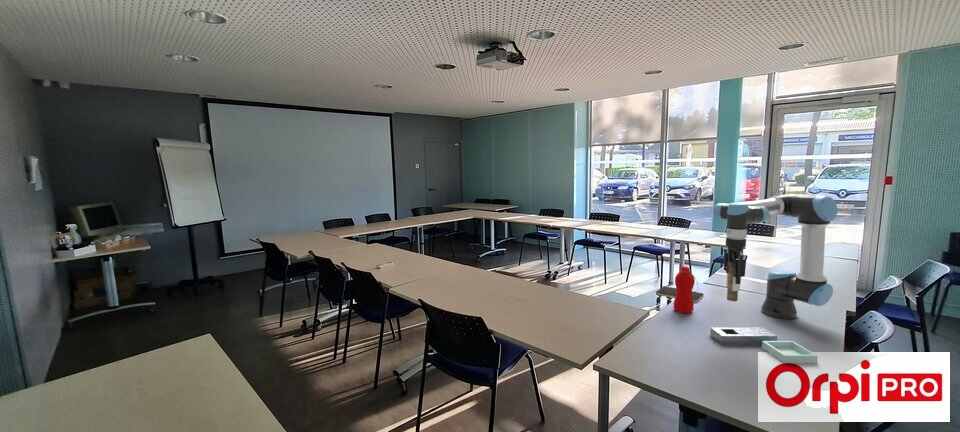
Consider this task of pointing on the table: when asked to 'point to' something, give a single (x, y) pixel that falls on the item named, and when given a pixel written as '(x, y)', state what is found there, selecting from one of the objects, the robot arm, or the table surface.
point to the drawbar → (742, 335)
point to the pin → (731, 283)
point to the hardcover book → (673, 291)
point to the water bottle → (684, 291)
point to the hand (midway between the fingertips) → (732, 288)
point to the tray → (789, 352)
